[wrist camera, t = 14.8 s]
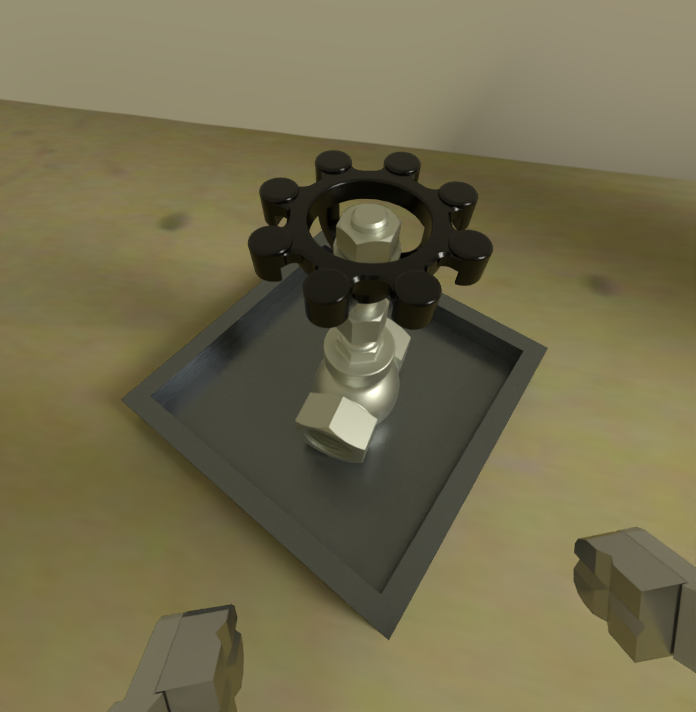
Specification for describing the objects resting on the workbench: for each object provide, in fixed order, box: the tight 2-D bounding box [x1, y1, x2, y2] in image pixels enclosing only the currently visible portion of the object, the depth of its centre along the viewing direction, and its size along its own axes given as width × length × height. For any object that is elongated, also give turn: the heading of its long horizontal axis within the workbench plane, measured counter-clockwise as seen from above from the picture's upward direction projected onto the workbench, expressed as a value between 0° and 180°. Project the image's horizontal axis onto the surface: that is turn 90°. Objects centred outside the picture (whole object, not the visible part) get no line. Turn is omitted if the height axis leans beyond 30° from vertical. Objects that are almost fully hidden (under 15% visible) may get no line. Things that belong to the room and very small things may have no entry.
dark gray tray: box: [121, 231, 548, 640], centre depth 20 cm, size 16×16×2 cm
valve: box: [248, 150, 493, 463], centre depth 15 cm, size 7×7×12 cm
